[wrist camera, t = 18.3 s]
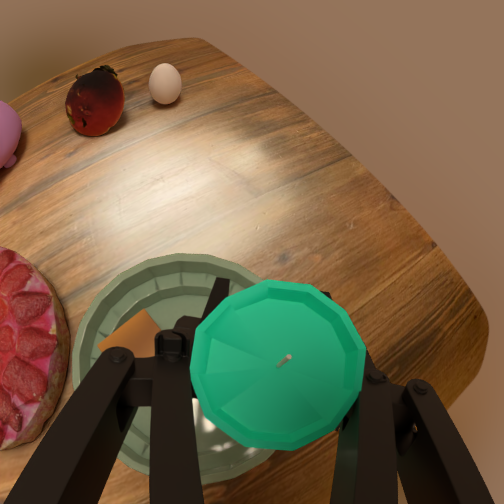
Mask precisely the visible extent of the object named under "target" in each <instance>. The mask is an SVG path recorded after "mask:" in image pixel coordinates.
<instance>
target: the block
mask: <svg viewBox="0 0 504 504" xmlns="http://www.w3.org/2000/svg"><path fill="white" fill-rule="evenodd" d="M159 331H162V330H161V329H160V328H159V326H158V325H157V324H156V323H155V321H154V320H153V319H152V318H151V316H150V315H149V314H148V312H147V311H146V310H145V309H142V310H141V311H140V312H138V313H137V314H136V315H135V316H133V317H132V318H131V319H130V320H128V321H127V322H126V323H124V324H123V325H122V326H121V327H119V328H118V329H117V330H116V331H114V332H113V333H112V334H110V335H109V336H108V337H107V338H105V339H104V340H103V341H102V342H100V343H99V344H98V345H97V346H98V348H99V349H100V351H101V352H103V351H104V350H106V349H108V348H110V347H116V346H119V347H125V348H128V349H130V350H131V351H132V352H133V354H134V356H135V357H136V358H144V357H152V356H155V347H154V337H155V335H156V334H157V333H158V332H159Z"/></svg>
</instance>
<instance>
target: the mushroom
mask: <svg viewBox="0 0 504 504" xmlns="http://www.w3.org/2000/svg"><path fill="white" fill-rule="evenodd" d="M117 75H118V74H116V73H115V72H114V69H113V68H110V66H108V65H107V66H106V65H104V66H100V68H95V69H94V70H93V71H92V72H91V73H87V74H85V75H83V76H79V77H77V76H78V74H77V75H76V78H77V81H76V82H75V83H74V84H73V85H72V87H71V88H70V90H69V92H68V95H67V98H66V102H65V106H66V113H67V116H68V118H69V120H70V123H71V124H72V126H73V128H74V129H75V130H77V131H78V132H79V133H81V134H83V135H87V136H99V135H102V134H104V133H106V132H107V131H108V130H109V129H110V127H113V126H114V125H115V124H116V123H117V122H118V120H119V118H120V116H121V114H122V111H123V108H124V102H125V97H124V89H123V86H122V84H121V82H120V80H119V79H118V78H117Z"/></svg>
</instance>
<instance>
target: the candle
mask: <svg viewBox="0 0 504 504" xmlns="http://www.w3.org/2000/svg"><path fill="white" fill-rule="evenodd" d="M365 355H366V346H365V345H364V343H363V341H362V339H361V337H360V336H359V334H358V332H357V330H356V328H355V326H354V325H353V323H352V321H351V319H350V318H349V316H348V314H347V312H346V310H344V309H343V308H342V307H340V306H339V305H338V304H336V303H335V302H334V301H332V300H331V299H330V298H328V297H327V296H325V295H324V294H323V293H321V292H320V291H319V290H317V289H316V288H315V287H313V286H312V285H310V284H301V283H293V282H284V281H276V280H268V279H267V280H265V281H262V282H260V283H258V284H256V285H253V286H251V287H249V288H246V289H244V290H242V291H240V292H237V293H235V294H233V295H230V296H228V297H226V298H225V299H224V300H223V301H222V302H221V303H220V304H219V305H218V306H217V307H216V308H215V309H214V310H213V311H212V312H211V313H210V314H209V315H208V316H207V317H206V318H205V320H204V321H203V322H202V323H201V324H200V325H199V326H198V327H197V328H196V331H195V337H194V344H193V350H192V356H191V363H190V377H191V382H192V385H193V387H194V390H195V393H196V395H197V398H198V401H199V403H200V406H201V408H202V411H203V414H204V416H205V418H206V419H207V420H208V421H210V422H211V423H212V424H214V425H215V426H216V427H218V428H219V429H221V430H222V431H223V432H225V433H226V434H227V435H229V436H230V437H232V438H233V439H234V440H236V441H237V442H239V443H240V444H242V445H243V446H244V447H252V448H262V449H274V450H289V451H294V450H296V449H298V448H300V447H302V446H304V445H306V444H308V443H310V442H312V441H314V440H316V439H318V438H320V437H322V436H324V435H326V434H328V433H330V432H332V431H333V430H335V429H336V427H337V426H338V425H339V423H340V422H341V420H342V419H343V418H344V416H345V415H346V413H347V412H348V411H349V409H350V408H351V406H352V405H353V403H354V402H355V401H356V399H357V398H358V395H359V391H361V388H362V381H363V373H364V364H365Z"/></svg>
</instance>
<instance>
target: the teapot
mask: <svg viewBox="0 0 504 504" xmlns="http://www.w3.org/2000/svg"><path fill="white" fill-rule="evenodd" d="M21 130H22V124H21V120H20V118H19V116H18V114H17V113H16V112H15V111H14V110H13V109H12V108H11V107H10V106H9V105H8V104H6V103H4V102H3V101H1V100H0V169H1V168H2V167H3V166H4V167H5V168H9V167H11V166H12V165H13V164H14V163H15V161H16V159H17V158H16V156H15V155H13V153H14V151H15V150H16V148H17V145H18V142H19V139H20V135H21Z"/></svg>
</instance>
